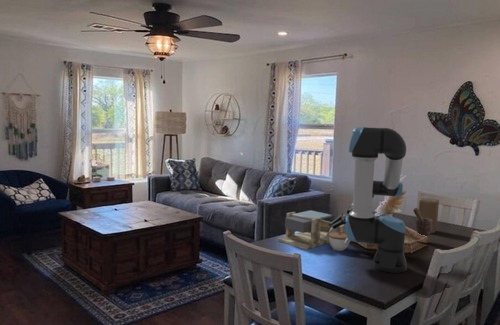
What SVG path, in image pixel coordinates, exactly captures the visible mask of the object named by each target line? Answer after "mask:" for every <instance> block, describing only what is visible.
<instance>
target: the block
mask: <svg viewBox="0 0 500 325" xmlns="http://www.w3.org/2000/svg"><path fill="white" fill-rule="evenodd" d="M439 203H440V200H438V199H433V198H421V199H419V201H418V208H417V209H418V210H419V212H420V214H421V217H422V218H427V219H431V220H433V221H432V230H431V233H430V234H432V233H433V234H434V233H436V231H437V230H438V221H439V220H438V218H439V207H440V206H439V205H440V204H439Z"/></svg>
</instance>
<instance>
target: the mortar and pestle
mask: <svg viewBox="0 0 500 325" xmlns="http://www.w3.org/2000/svg"><path fill="white" fill-rule="evenodd" d="M418 209H419V208H417V207H416V208H415V207H414V209H412V210H413V213H414V215H415V216H416V219H415V230H416V233H417V234H418V233H419V234H421V235H425V236H427V238H429V235H430V234H431V233H430V232H431V230H432V221H433V220H431V219H427V218H422V217H421V214H420V212H419V210H418ZM419 234H418V235H419ZM429 241H430V239H429ZM430 242H431V241H430Z"/></svg>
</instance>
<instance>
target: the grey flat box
mask: <svg viewBox="0 0 500 325" xmlns="http://www.w3.org/2000/svg"><path fill="white" fill-rule="evenodd" d="M332 217H333V215H332V214H329V213H324V212H320V211H316V210H311V209H310V210H306V211H302V212H297V213H296V214H293V213H292V217H288V218H286V217H284V218H285V219H284V221H285V222H284V228H285V229H286V228H287V229H291V230H294V231H295V232H298V233H305V232H309V231H311V224H312V219H315V218H321V220H325V219H328V218H332Z"/></svg>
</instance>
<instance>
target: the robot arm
mask: <svg viewBox="0 0 500 325" xmlns="http://www.w3.org/2000/svg"><path fill="white" fill-rule="evenodd" d="M348 152H349V153H351V157H352V158H353V160H354V174H353V193H352V195H353V197H352V203H351V205H350V206H349V208H348V209H347V210H346V214H343V212H342V213H340V214H339V215H338V216H337V217H336V218H335V219H334V220H332V221H330V222H331V223H330V224H329V226H330V229H329V230H328V233H327V235H326V236H325V237H326V238H327V240H329V234H330V233H332V232H334V231H335V230H334V229H336V228H337V227H339V226H341V225H345V233H346V235H347V239H346V240H345V242H344V244H345V245H346V246H347V247H349V244H350V243H351V242H355V243H363V244H374V245H377V249H376V253H375V254H374V257H373V260H372V266H373V268H374V269H376V270H379V271H382V272H385V273H392V274H398V273H399V274H401V273H405V272H406V271H408V263H407V259H406V257H405V252H404V251H405V241H406V238H405V236H406V232H407V231H406V223H405V221H403V220H402V219H400V218H397V217H393V216H389V215H388V216H387V215H380V216H379V217H378V218H375V214H374V212H372V208H373V206H372V205H373V199H374V197H375V196H384V197H394V198H395V197H401V196H402V195H403V186H404V185H403V183H402V182H400V180H401V173H402V166H403V159H404V158H405V156H406V155H407V145H406V142H405V140H404V138H403V137H402V136H401V134H400V133H399V132H397V131H396V130H394V129H393V128H389V127H365V126H363V127H355V128H353V129H352V133H351V136H350V141H349V147H348ZM381 154H382V155H383V154H384V156H385V161H384V162H385V163H384V174H383V175H384V176H383V181H382V180H374V172H375V161H376V160H377V159H379V155H381Z"/></svg>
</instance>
